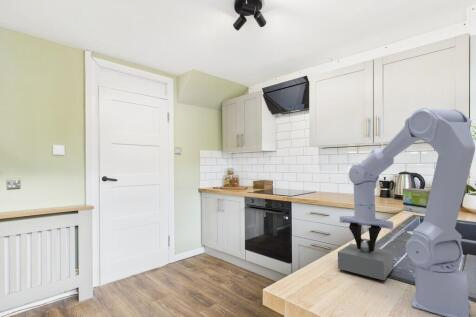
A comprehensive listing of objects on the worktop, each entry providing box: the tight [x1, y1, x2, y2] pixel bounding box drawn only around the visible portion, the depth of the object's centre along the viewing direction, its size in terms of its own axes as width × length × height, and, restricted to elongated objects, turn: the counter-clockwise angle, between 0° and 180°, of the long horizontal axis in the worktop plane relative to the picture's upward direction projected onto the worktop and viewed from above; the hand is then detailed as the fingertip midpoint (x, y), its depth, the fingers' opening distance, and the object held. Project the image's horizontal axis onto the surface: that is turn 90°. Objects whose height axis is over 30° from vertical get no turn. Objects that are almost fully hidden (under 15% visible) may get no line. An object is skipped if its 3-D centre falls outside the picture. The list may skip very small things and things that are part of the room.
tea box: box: [402, 187, 431, 215], centre depth 164 cm, size 15×10×15 cm
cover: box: [337, 238, 395, 281], centre depth 76 cm, size 12×12×8 cm
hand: (365, 249), depth 76 cm, fingers closed on cover, 3 cm apart
